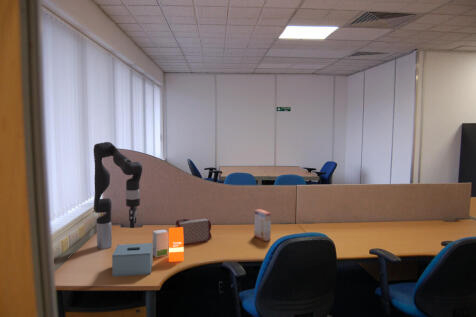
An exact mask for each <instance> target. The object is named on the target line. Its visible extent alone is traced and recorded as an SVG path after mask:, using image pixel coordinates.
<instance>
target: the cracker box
mask: <svg viewBox="0 0 476 317" xmlns="http://www.w3.org/2000/svg"><path fill="white" fill-rule="evenodd" d="M253 226H254V230H253V231H254V234H253V236H254V237H255V236H256V237H255V238H257V239H260V240H261V241H263V242H268V241H271V234H272V233H271V232H272V231H271V230H272V229H271V228H272V227H271V226H272V213H271V212H269V211H267V210H264V209H261V208H257V209H255V210H254V225H253Z"/></svg>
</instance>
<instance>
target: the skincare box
mask: <svg viewBox="0 0 476 317" xmlns="http://www.w3.org/2000/svg"><path fill="white" fill-rule="evenodd" d="M152 243H153V257H155V258H160V257H165V256H169V230H168V231H167V230H166V229H158V230H153V231H152Z"/></svg>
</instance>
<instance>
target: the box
mask: <svg viewBox="0 0 476 317" xmlns="http://www.w3.org/2000/svg"><path fill="white" fill-rule="evenodd" d="M111 256H112V257H111V264H112V267H111V268H112V269H111V270H112V277H113V276H114V277H127V276H143V275H144V276H145V275H151V274H152V268H153V264H154V263H153V262H154V260H153V258H154V255H153V242H147V243H146V242H145V243H127V244H125V243H124V244H117V245H116V247H115V250H114V251H113V253H112V254H111Z"/></svg>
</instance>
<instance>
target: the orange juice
mask: <svg viewBox="0 0 476 317" xmlns="http://www.w3.org/2000/svg"><path fill="white" fill-rule="evenodd" d="M184 246H185V245H184V237H183V227H178V228H176V227H169V228H168V262H169V263H171V262H182V261H183V262H184V252H185V250H184V248H185V247H184Z"/></svg>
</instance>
